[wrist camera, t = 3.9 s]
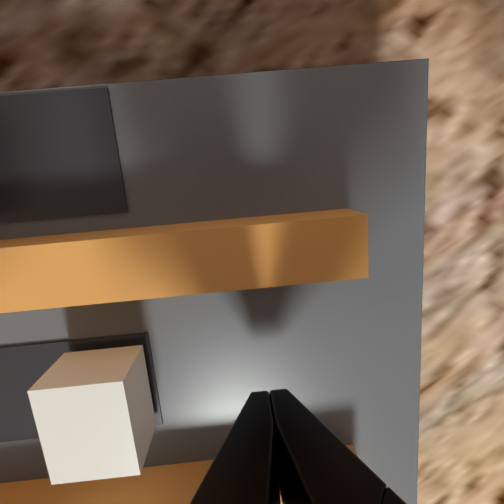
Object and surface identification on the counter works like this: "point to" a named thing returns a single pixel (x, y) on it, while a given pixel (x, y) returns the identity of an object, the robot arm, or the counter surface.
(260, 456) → the robot arm
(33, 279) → the orange bar
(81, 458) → the block
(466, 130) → the counter surface
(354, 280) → the breaker panel
